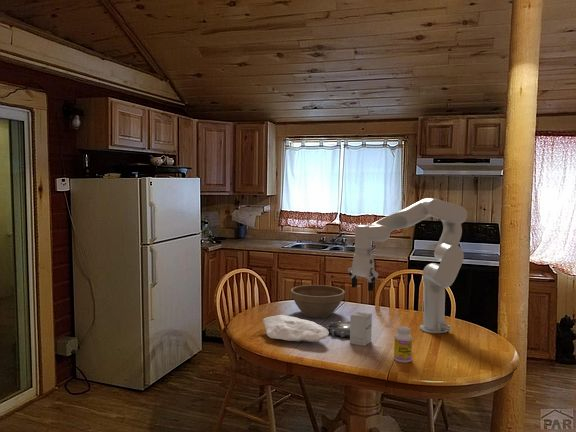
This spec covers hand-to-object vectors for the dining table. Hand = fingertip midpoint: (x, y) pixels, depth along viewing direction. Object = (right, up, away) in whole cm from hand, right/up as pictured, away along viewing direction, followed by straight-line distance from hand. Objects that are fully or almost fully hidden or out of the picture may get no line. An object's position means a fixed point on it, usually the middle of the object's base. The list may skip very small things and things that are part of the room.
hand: (362, 288), depth 217 cm
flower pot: (-19, -19, +32) cm, 41 cm away
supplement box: (-3, -22, -12) cm, 25 cm away
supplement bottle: (+11, -23, -32) cm, 41 cm away
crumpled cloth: (-30, -21, -6) cm, 38 cm away
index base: (-11, -20, +5) cm, 23 cm away
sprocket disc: (-7, -21, +1) cm, 22 cm away
